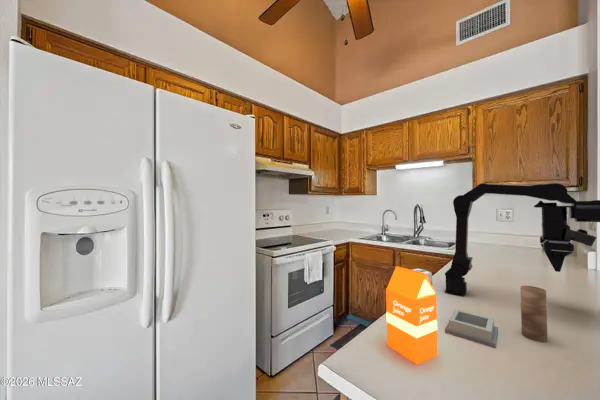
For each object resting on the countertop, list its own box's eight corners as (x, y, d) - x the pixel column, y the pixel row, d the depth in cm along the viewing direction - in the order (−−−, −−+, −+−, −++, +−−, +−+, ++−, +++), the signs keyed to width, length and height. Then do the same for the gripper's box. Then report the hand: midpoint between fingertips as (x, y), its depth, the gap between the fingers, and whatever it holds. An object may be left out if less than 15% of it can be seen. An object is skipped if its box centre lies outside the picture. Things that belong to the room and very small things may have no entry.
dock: (445, 332, 67) (444, 320, 67) (452, 318, 75) (452, 307, 75) (495, 348, 59) (495, 334, 59) (497, 330, 68) (497, 318, 68)
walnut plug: (521, 337, 64) (520, 289, 64) (521, 330, 68) (520, 284, 68) (548, 344, 61) (546, 293, 61) (546, 336, 64) (545, 288, 65)
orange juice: (417, 365, 53) (415, 276, 54) (386, 344, 61) (385, 267, 62) (438, 354, 57) (436, 271, 57) (406, 336, 65) (405, 263, 65)
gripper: (600, 224, 66) (602, 280, 66) (585, 220, 80) (587, 267, 79) (543, 222, 74) (545, 273, 73) (539, 219, 87) (540, 261, 87)
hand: (555, 268), depth 78 cm, fingers open, 9 cm apart
